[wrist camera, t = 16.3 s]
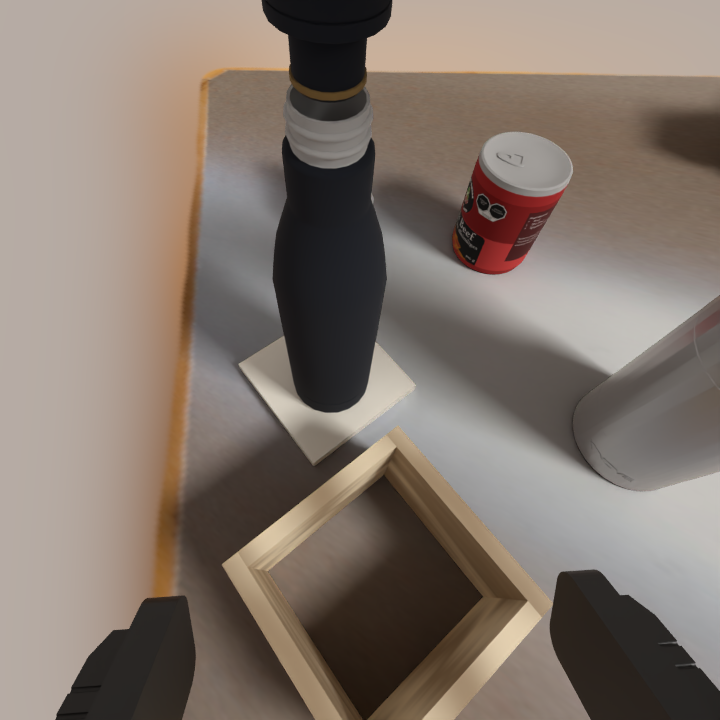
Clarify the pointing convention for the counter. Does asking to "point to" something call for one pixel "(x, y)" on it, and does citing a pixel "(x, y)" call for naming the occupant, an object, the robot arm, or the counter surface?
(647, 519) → the counter surface
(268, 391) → the cream tile
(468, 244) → the canned food
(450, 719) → the pine crate
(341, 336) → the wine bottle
